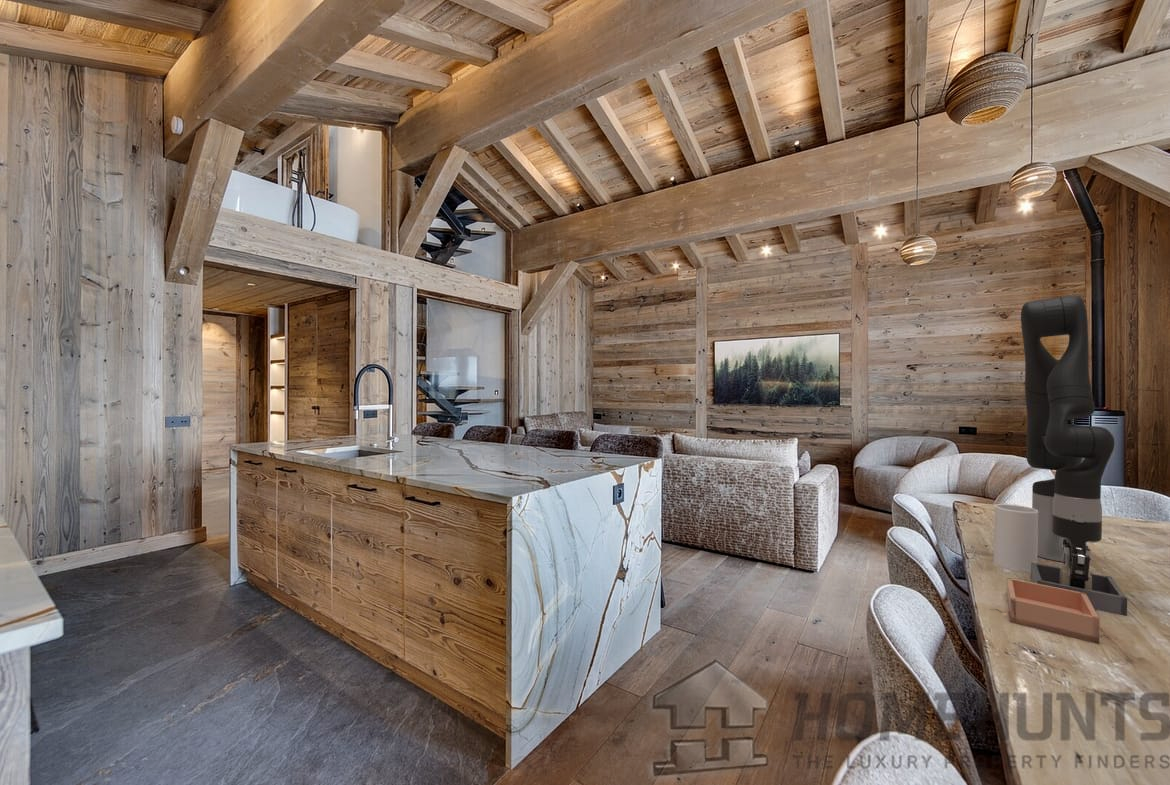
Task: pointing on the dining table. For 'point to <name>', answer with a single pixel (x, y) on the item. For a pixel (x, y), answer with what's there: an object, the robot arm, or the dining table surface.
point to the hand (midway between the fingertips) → (1075, 592)
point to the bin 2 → (1101, 595)
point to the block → (1066, 579)
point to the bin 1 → (1052, 609)
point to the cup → (1015, 537)
